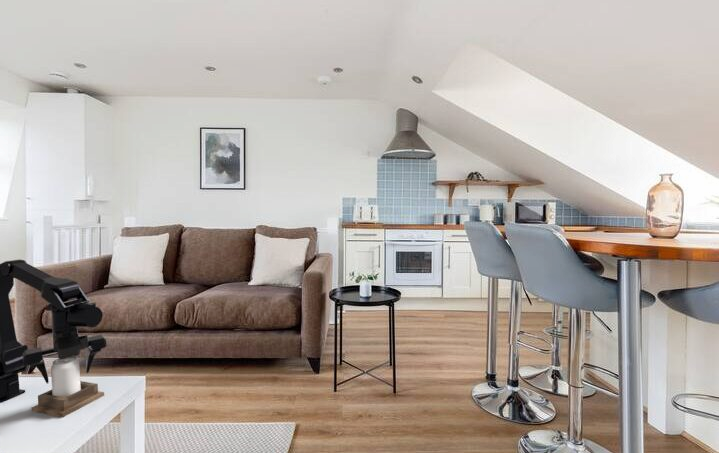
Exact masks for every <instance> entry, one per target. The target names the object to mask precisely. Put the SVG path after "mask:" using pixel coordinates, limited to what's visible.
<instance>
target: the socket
mask: <svg viewBox="0 0 719 453" xmlns="http://www.w3.org/2000/svg"><path fill="white" fill-rule="evenodd" d="M98 384H99V383H94V382H88V381H81V380H80V386H81V390H80V391H78V392H76V393H74V394H72V395H69V396H67V397H65V398H64V397H58V396H53V395H52V389H49V390H47V391H45V392H43V393H40V394H38V395H37V404H36V405H34V406H32V407H31V412H36V413H41V414H46V415H50V416H51V415H52V416H56V417H60V418H64V417H66V416H68V415H70V414H72V413H73V412H77V411H78V410H80V409H82V408H83V407H85V406H87V405H89V404H91V403H92V402H94V401H97V400H98V399H101V398H102V397H105V392H104V391H100V390H99V387H98V386H99V385H98Z"/></svg>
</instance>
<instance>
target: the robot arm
mask: <svg viewBox="0 0 719 453" xmlns="http://www.w3.org/2000/svg"><path fill="white" fill-rule="evenodd" d="M15 279H17V281H19V282H22V283H24V284H25V285H28V287H29V286H30V287H31V288H33V289H35V290H37V291H38V292H39V293H40V297H41V298H42V299H43V300H45V301H46V302H48V306H46V307H45V308H44V310H45V311H46V312H47V311H48V312H49V311H50V312H51V325H52V326H51V328H52V343H53V344H52V346H53V347H52V348H48V349H42V347H41V346H39V347H34V348H29V349H28V345H27V344H22V343H21V342H19V341H18V338H17V334H16V333H17V332H16V328H15V323H14V318H13V311H12V307H11V306H12V305H11V301H10V293H11V291H12V290H13V287H14V285H15V284H14V283H15V281H14V280H15ZM96 304H97V303H96V302H90V300H89V298H88V296H87V295H86V293H84V291H83V290H82V288H81V287H80V284H79V283H78V282H77V281H75V280H72V279H69V278H64V277H63V278H62V277H55V276H53V275H50V274H49V273H47V272H44V271H43V270H41V269H39V268H38V267H35V266H33V265H31V264H29V263H27V261H26V260H24V259H14V260H7V261H4V262H1V263H0V403H3V402H5V401H8V400H10V399H12V398H14V397H17V396H19V395H22V394H24V393H26V390H25V389H22V388H21V389H20V378H19V374H20V373H22V372H26V371H27V367H28V366H29V367H30V368H34V367H35V368H36V369H38V371H39V373H40V374H41V376H42V377H43V379H44V381H45V383H46V384H49V376H48V372H47V368H46V364H45V359H44V358H45V357H51V356H55V355H57V357H58V358H57V359H64V358H66V357H71V356H76V357H77V356H79V355H80V354H81V351H82V350H85V349H86V357H85V372H86V374H89V372H90V369H91V366H92V363H93V360H94V358H95V356H96V355H97V353H99V352H101V351H102V349H105V348H107V340H106V339H107V338H106V337H105V336H104V335H102V334H97V335H93V336H88V335H87V334H85V335H80V336H79V330H78V328H79V327H80V328H96V327H97V326H98V325H100V324H101V322H102V320H103V316H104V315H103V312H102V310H101V308H100V307H98V306H97V305H96Z"/></svg>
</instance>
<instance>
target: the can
mask: <svg viewBox="0 0 719 453" xmlns="http://www.w3.org/2000/svg"><path fill="white" fill-rule="evenodd" d="M80 370H81V369H80V361H79V360H78V357H77V356H71V357H66V358H64V359H59V358H57V359H54V360H53V361H52V365H51V367H50V374H51V377H50V378H51V390H52V395H53V396H58V397H64V398H65V397H67V396H69V395H72V394H74V393H76V392H78V391H80V390H81V386H80V381H81V372H80Z"/></svg>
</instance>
